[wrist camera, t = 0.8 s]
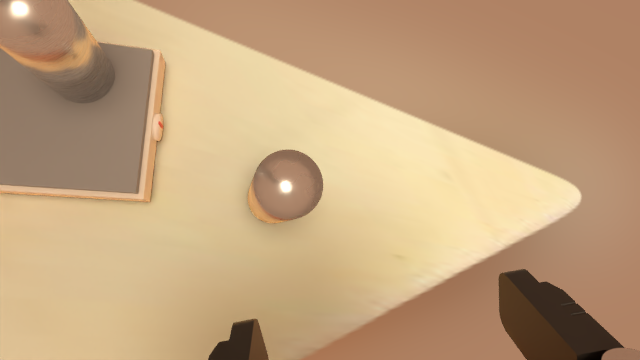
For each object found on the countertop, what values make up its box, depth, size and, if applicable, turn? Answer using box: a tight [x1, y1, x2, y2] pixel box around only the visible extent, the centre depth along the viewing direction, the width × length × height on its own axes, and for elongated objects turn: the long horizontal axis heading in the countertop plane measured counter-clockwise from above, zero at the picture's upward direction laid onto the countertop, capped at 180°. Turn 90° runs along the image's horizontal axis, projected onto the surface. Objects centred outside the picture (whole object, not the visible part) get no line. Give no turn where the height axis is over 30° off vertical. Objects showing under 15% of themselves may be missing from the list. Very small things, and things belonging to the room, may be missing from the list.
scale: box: [0, 42, 165, 202], centre depth 30 cm, size 12×12×3 cm
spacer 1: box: [0, 0, 115, 103], centre depth 25 cm, size 4×4×10 cm
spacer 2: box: [248, 150, 323, 223], centre depth 30 cm, size 4×4×10 cm
